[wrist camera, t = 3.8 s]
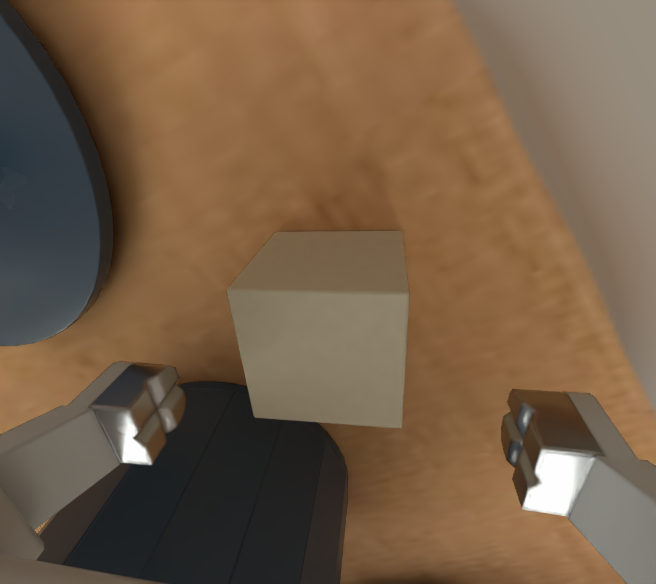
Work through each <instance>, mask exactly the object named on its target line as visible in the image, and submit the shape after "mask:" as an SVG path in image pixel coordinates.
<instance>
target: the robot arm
mask: <svg viewBox="0 0 656 584" xmlns="http://www.w3.org/2000/svg"><path fill="white" fill-rule="evenodd" d="M178 379H179V375H178V372H177V370H176V368H175V367H173V366H170V365H161V364H150V363H139V362H136V363H134V362H125V361H119V362H115V363H113V364H112V365H110V366H109V367H108V368H107V369H106V370H105V371H104V372H103V373H102V374H101V375H100V376H99V377H98V378H97V379H95V380H94V381H93V382H92V383H91V384H90V385H89V386H88V387H87V388H86V389H85V390H84V391H83V392H82V393H80V394H79V395H78V396H77V397H76V398H75V399H74V400H73V401H72V402H71V403H70V404H69V405H68V406H60V407H57V408H55V409H53V410H51V411H49V412H47V413H45V414H43V415H41V416H38V417H36V418H34V419H32V420H30V421H28V422H26V423H24V424H22V425H20V426H17V427H15V428H13V429H11V430H9V431H7V432H5V433H3V434H1V435H0V584H166V583H160V582H155V581H149V580H144V579H138V578H132V577H127V576H121V575H115V574H110V573H104V572H98V571H93V570H87V569H81V568H76V567H70V566H64V565H59V564H53V563H48V562H42V561H36V560H37V559H38V557H39V556H40V555H41V553H42V552H43V551H44V542H43V541H42V539H41V538H40V537H39V536H38V534H37V533H36V532H35V531H34V530H35V529H36V528H37V527H39V526H40V525H41V524H43V523H44V522H45V521H47V520H48V519H49V518H50V517H52V516H53V515H54V514H56V513H57V512H58V511H60V510H61V509H62V508H64V507H65V506H66V505H67V504H69V503H70V502H71V501H73V500H74V499H75V498H77V497H78V496H79V495H81V494H82V493H83V492H84V491H86V490H87V489H88V488H90V487H91V486H92V485H94V484H95V483H96V482H98V481H99V480H100V479H101V478H103V477H104V476H105V475H107V474H108V473H109V472H111V471H112V470H113V469H115V468H116V467H117V466H118V465H120V463H132V464H143V465H152V464H153V463H154V461H155V460H156V458H157V457H158V455H159V454H160V452H161V451H162V449H163V448H164V446H165V445H166V443H167V433H169V432H170V431H172V430H173V429H175V428H177V426H178V425H179V423H180V422H181V420H182V418H183V416H184V412H185V409H186V396H185V393H184V390H183V389H181V388H180V387H179V386H178V385H177V384H176V383H177V381H178ZM507 403H508V405H509V408H510V412H509V413H507V414H506V415H505V416H503V421H502V426H501V441H502V446H503V451H504V454H505V458H506V460H507V461H508V462H509V463H510V464H511V465H512V466H513V467H514V468H515V471H514V474H513V478H512V480H513V483H514V486H515V489H516V492H517V495H518V498H519V501H520V504H521V507H522V510H529V511H536V512H543V513H550V514H556V515H563V516H569V517H568V519H569V520H570V521H571V522H572V523H573V524H574V526H575V527H576V528H577V529H578V530H579V531H580V532H581V533H582V534H583V536H584V537H585V538H586V539H587V540H588V541H589V542H590V543H591V544H592V545H593V547H594V548H595V549H596V550H597V551H598V552H599V553H600V554H601V555H602V557H603V558H604V559H605V560H606V561H607V562H608V563H609V564H610V565H611V566H612V568H613V569H614V570H615V571H616V572H617V573H618V574H619V575H620V576H621V577H622V579H623V580H624V581H625V582H626V583H627V584H656V466H655V465H653V464H652V463H650V462H649V461H647V460H638V458H637V457H636V455H635V454H634V453H633V451H632V450H631V448H630V447H629V445H628V444H627V443H626V441H625V440H624V438H623V437H622V435H621V434H620V433H619V431H618V430H617V428H616V427H615V425H614V424H613V423H612V421H611V420H610V418H609V417H608V415H607V414H606V412H605V411H604V410H603V408H602V407H601V405H600V404H599V402H598V401H597V400H596V398H595V397H594V396H593V395H591V394H590V393H581V392H556V391H540V390H524V389H512V391H511V392H510V393H509V397H508V401H507ZM119 462H120V463H119Z"/></svg>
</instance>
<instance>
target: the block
mask: <svg viewBox="0 0 656 584" xmlns="http://www.w3.org/2000/svg"><path fill="white" fill-rule="evenodd" d="M227 296H228V300H229V305H230V309H231V314H232V319H233V323H234V328H235V332H236V337H237V341H238V346H239V351H240V355H241V360H242V364H243V369H244V374H245V378H246V383H247V387H248V392H249V397H250V401H251V406H252V410H253V415H254V417H255V418H267V419H280V420H294V421H307V422H320V423H333V424H347V425H360V426H373V427H386V428H401V427H402V417H403V400H404V383H405V366H406V349H407V332H408V315H409V298H410V292H409V284H408V276H407V267H406V259H405V251H404V243H403V234H402V231H310V232H275V233H274V234H273V235H272V236H271V237H270V239H269V240H268V241H267V242H266V243H265V245H264V246H263V247H262V248H261V249H260V250H259V252H258V253H257V254H256V255H255V256H254V258H253V259H252V260H251V261H250V262H249V264H248V265H247V266H246V267H245V268H244V270H243V271H242V272H241V273H240V274H239V276H238V277H237V278H236V279H235V280H234V281H233V283H232V284H231V285H230V286H229V287H228V289H227Z"/></svg>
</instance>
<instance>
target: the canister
mask: <svg viewBox="0 0 656 584" xmlns="http://www.w3.org/2000/svg"><path fill="white" fill-rule="evenodd" d="M178 386H179V387H180V388H181V389H183V390H184V393H185V396H186V409H185V412H184V416H183V418H182V420H181V422H180V423H179V425H178V426H177V428H175V429H173V430H172V431H170V432H169V433H167V443H166V445H165V446H164V448H163V449H162V451H161V452H160V454H159V455H158V457H157V458H156V460H155V461H154V463H153V464H152V465H143V464H132V463H120V462H119V463H120V465H118V466H117V467H116V468H115V469H113V470H112V471H111V472H109V473H108V474H107V475H105V476H104V477H103V478H101V479H100V480H99V481H98V482H96V483H95V484H94V485H92V486H91V487H90V488H88V489H87V490H86V491H84V492H83V493H82V494H81V495H79V496H78V497H77V498H75V499H74V500H73V501H71V502H70V503H69V504H67V505H66V506H65V507H64V508H62V509H61V510H60V511H58V512H57V513H56V514H54V515H53V516H52V517H51V518H50V519H49V520H48V521H47V523H46V524H45V525H44V526H43V528H42V529H41V530H40V531H39V533H38V536H39V537H40V538H41V539H42V541H43V542H44V551H43V552H42V553H41V555H40V556H39V557H38V559H37V560H36V561H42V562H48V563H53V564H59V565H64V566H70V567H76V568H81V569H87V570H93V571H98V572H104V573H110V574H115V575H121V576H127V577H132V578H138V579H144V580H149V581H155V582H160V583H166V584H340V577H341V567H342V556H343V546H344V535H345V525H346V515H347V504H348V493H347V488H348V473H347V467H346V464H345V461H344V458H343V456H342V454H341V452H340V450H339V448H338V446H337V445H336V444H335V442H334V441H333V439H332V438H331V437H330V435H329V434H328V433H327V432H326V431H325V430H324V429H323V428H322V427H321V426H320V425H319V424H318V423H316V422H307V421H294V420H280V419H267V418H255V417H254V415H253V410H252V406H251V401H250V397H249V392H248V387H245V386H240V385H236V384H230V383H222V382H192V383H184V384H180V385H178Z"/></svg>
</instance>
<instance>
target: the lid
mask: <svg viewBox="0 0 656 584" xmlns="http://www.w3.org/2000/svg"><path fill="white" fill-rule="evenodd" d="M113 240H114V238H113V214H112V208H111V202H110V196H109V190H108V185H107V182H106V178H105V175H104V171H103V167H102V164H101V160H100V157H99V154H98V151H97V149H96V146H95V144H94V141H93V139H92V136H91V134H90V131H89V129H88V126H87V124H86V121H85V119H84V117H83V115H82V113H81V111H80V109H79V107H78V105H77V103H76V101H75V99H74V97H73V96H72V94H71V92H70V90H69V88H68V86H67V84H66V83H65V81H64V79H63V78H62V76H61V74H60V73H59V71H58V70H57V68H56V66H55V65H54V63H53V62H52V60H51V58H50V57H49V55H48V53H47V52H46V50H45V49H44V47H43V46H42V45H41V43H40V42H39V41H38V39H37V38H36V37H35V35H34V34H33V33H32V31H31V30H30V29H29V27H28V26H27V25H26V23H25V22H24V20H23V19H22V18H21V16H20V15H19V14H18V12H17V11H16V10H15V9H14V8H13V7H12V6H11V4H10V3H9V2H8V1H7V0H0V346H19V345H25V344H31V343H36V342H39V341H42V340H45V339H48V338H50V337H52V336H54V335H56V334H58V333H59V332H61V331H63V330H65V329H66V328H67V327H69V326H70V325H72V324H73V323H74V322H76V321H77V320H78V319H79V318H80V317H82V316H83V315H84V314H85V313H86V312H87V311H88V310H89V309H90V308H91V306H92V305H93V304H94V302H95V301H96V300H97V298H98V297H99V295H100V292H101V290H102V288H103V286H104V284H105V282H106V279H107V276H108V272H109V268H110V265H111V260H112V250H113Z"/></svg>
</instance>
